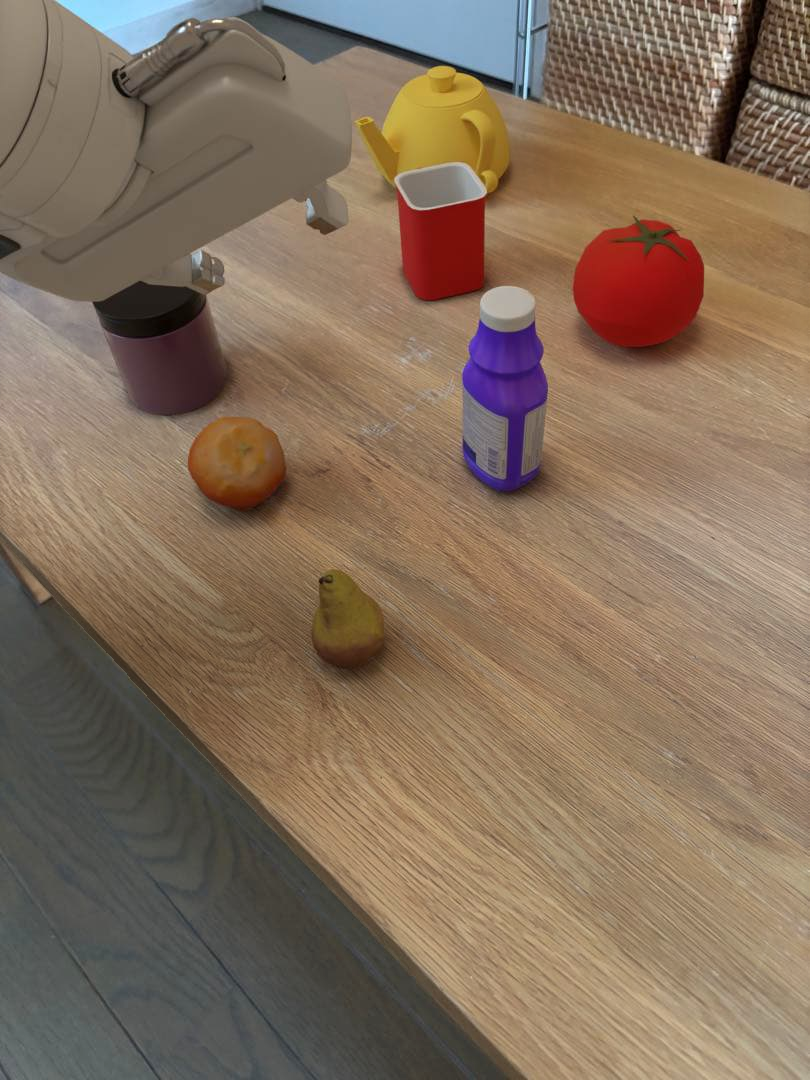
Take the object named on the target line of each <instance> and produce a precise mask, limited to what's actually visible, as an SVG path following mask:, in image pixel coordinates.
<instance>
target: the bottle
mask: <svg viewBox="0 0 810 1080" xmlns="http://www.w3.org/2000/svg"><path fill="white" fill-rule="evenodd" d="M544 348H545V347H544V345H543V342H542V340H541V339H540V338H539V336H538V333H537V329H536V299H535V296H534V295H533V294H532V293H531V292H530V291H528V290H527V289H524V288H522V287H520V286H515V285H500V286H497V287H493V288H491V289H489V290H487V291H486V292H485V293H484V294H483V295H481V299H480V301H479V320H478V327H477V330H476V332H475V335H474V336H473V337H472V339H470V342H469V343H468V354H469V356H470V357H469V358H468V360H467V361H466V363H465V365H464V367H463V370H462V375H461V381H462V383H461V384H462V448H461V449H462V454H463V457H464V460H465V463H466V464H467V466H468V468H469V469H470V471H471V472H472V473H473V474H474V475H475V477H477V479H479V480H480V482H482V483H484V484H485V485H486V486H488V487H490V488H492V489H494V490H495V491H499V492H504V493H505V492H510V491H513V490H517V489H519V488H521V487H522V486H525V485H527V483H530V482H531V481H532V480H533V479H534V478H535V477H536V476H537V475H538V473H539V471H540V470H541V465H542V457H543V448H544V447H543V446H544V438H545V427H546V426H545V425H546V416H547V415H546V413H547V404H548V393H549V385H548V380H547V376H546V373H545V370H544V368H543V365H542V363H541V361H542V359H543V356H544V351H545V350H544Z"/></svg>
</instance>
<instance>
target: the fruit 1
mask: <svg viewBox="0 0 810 1080" xmlns="http://www.w3.org/2000/svg"><path fill="white" fill-rule="evenodd" d="M187 469H188V472H189V474H190V476H191V478H192V480H193V482H194V483H195V484H196V485H197V487H198V489H199V490H200V492H201V493H202V495H204V497H205V498H206V499H208V500H209V501H211V502H213V503H216V504H218V505H220V506H223V507H226V508H230V509H231V510H235V511H239V512H242V511H243V512H245V511H248V510H251V509H254V508H255V507H256V506H258V505H260V503H262V502H263V501H265V500H266V499H267V498H269V497H270V496H271V495H272V494H273V493H274V492H275V491H276V489H278V487H279V486H280V485H281V483H283V481H284V480H285V478H286V474H287V466H286V460H285V453H284V449H283V447H282V445H281V442H280V439H279V437H278V435H277V434H276V433H275V431H274V430H273V429H270V428H268V427H267V426H265V425H264V424H262V423H261V421H259V420H258V419H256V418H252V417H248V416H247V417H239V416H238V417H235V416H221V417H219V418H217V419H215V420H213V421H211V422H210V423H208V424H207V425H206V426H205V427H204V428H203V429H202V430H201V432H200V433H199V434H198V435H197V436H196V438H195V439H194V440H193V442H192V443H191V445H190V448H189V452H188V456H187Z"/></svg>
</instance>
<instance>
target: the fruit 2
mask: <svg viewBox="0 0 810 1080" xmlns="http://www.w3.org/2000/svg"><path fill="white" fill-rule="evenodd" d="M317 581H318V597H319V605H318V607H317V608H316V610H315V612H314V615H313V618H312V624H311V629H310V630H311V632H310V636H311V641H312V645H313V648H314V651H315V653H316V654H317V656H318V657H319V658H320V659H322V660H323V662H325V663H326V664H328V665H330V666H331V667H333V668H337V669H341V670H350V669H354V668H357V667H360V666H362V665H364V664H366V663H368V662H370V661H371V660H373V658H375V657H376V656H377V655H378V654H379V653H380V651H382V648H383V646H384V643H385V619H384V618H385V617H384V613H383V610H382V608H381V606H380V604H379V603H378V602H377V601H376V600H375V599H374V598H373V597H372V596H370V595H369V594H368V593H365V592H364V591H363V590H362V588H361V587H360V586H359V584H357V583H356V582H355V579H353V578H352V577H351V576H350V575H349V574H348V573H346V572H344V571H343V570H340V569H334V568H333V569H328V570H326V571H324V572H323V573H322V574H321V575H320V577H319V578H318V580H317Z"/></svg>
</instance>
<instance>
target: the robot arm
mask: <svg viewBox="0 0 810 1080" xmlns="http://www.w3.org/2000/svg"><path fill="white" fill-rule="evenodd" d="M351 114H352V113H351V108H350V102H349V98H348V95H347V93H346V91H345V89H344V88H343V87H342V86H341V84H339V83H338V82H337V81H336V80H335V79H333V78H332V77H331V76H329V75H328V74H327V73H326V72H324V71H323V70H321V69H320V68H319V67H317V66H316V65H314V64H313V63H312V62H310V61H308V60H307V59H305V58H304V57H302V56H301V55H299V54H298V53H296V52H294V51H293V50H291V49H290V48H288V47H286V46H285V45H283V44H281V43H280V42H278V41H277V40H275V39H273V38H271V37H269V36H267V35H265V34H263V33H262V32H260V31H259V30H257V28H255V27H254V26H253V25H252V24H251V23H249V22H248V21H245V20H243V19H241V18H239V17H236V16H229V17H227V18H211V19H207V20H204V21H200V20H199V19H197V18H196V17H190V18H186V19H185V20H182V21H181V22H179V23H177V24H176V25H174V26H173V27H172V28H171V29H170V30H168V31H167V33H166V35H165V37H164V38H162V39H161V40H160V41H158V42H157V43H155V44H153V45H152V46H150V47H148V48H146V49H144V50H143V51H141V52H139V53H138V54H137V55H136V56H133V54H132V53H131V52H129V50H128V49H126V48H125V47H123V46H122V45H120V44H119V43H117V42H116V41H114V40H113V39H112V38H110V37H109V36H107V35H105V34H104V33H103V32H101V31H100V30H98V29H97V28H96V27H94V26H93V25H91V24H89V22H87V21H85V20H84V19H83V18H81V17H80V16H79V15H77V14H75V13H74V12H73V11H71V10H69V8H67V7H66V6H64V5H62V4H61V3H59V2H58V1H57V0H0V273H1V274H3V275H4V276H6V277H8V278H10V279H13V280H15V281H17V282H20V283H22V284H25V285H26V286H29V287H32V288H35V289H37V290H40V291H43V292H46V293H48V294H51V295H54V296H56V297H61V298H63V299H66V300H69V301H74V302H87V303H88V302H89V303H90V302H91V303H92V302H98V301H103V300H105V299H107V298H109V297H111V296H112V295H114V294H116V293H118V292H120V291H122V290H123V289H125V288H127V287H129V286H131V285H133V284H134V283H136V282H138V281H143V282H145V283H147V284H150V285H164V286H178V287H184V286H186V287H188V288H190V289H192V290H194V291H197V292H199V293H201V294H203V295H208V294H210V293H212V292H213V291H216V290H217V289H219V288H221V287H224V285H225V284H226V283H225V282H226V281H225V279H226V278H225V277H224V273H225V265H224V263H223V262H222V260H221V259H220V258H218V257H216V256H211V254H210V253H209V252H206V251H205V250H203V249H201V248H203V247H205V246H206V245H208V244H210V243H212V242H214V241H216V240H217V239H219V238H222V237H223V236H224V235H227V234H228V233H231V232H232V231H234V230H236V229H238V228H240V227H241V226H243V225H245V224H247V223H249V222H252V220H255V219H256V218H258V217H260V216H262V215H264V214H266V213H267V212H270V211H271V210H273V209H275V208H276V207H278V206H280V205H282V204H284V203H287V202H288V201H290V200H291V199H293V200H294V201H296V202H297V203H304V206H305V207H306V210H305V224H306V225H307V226H308V227H310V228H312V229H313V230H318V231H319V233H320V234H322V235H323V236H326V235H329V234H330V233H332V232H335V231H337V230H339V229H341V228H343V227H346V226H347V225H348V224H349V207H348V201H347V200H346V198H345V196H344V195H343V194H342V193H340V192H339V191H338V190H336V189H334V188H333V187H332V186H331V185H329V184H328V181H327V180H329V179H330V178H332V177H333V176H336V175H338V174H339V173H341V172H343V171H345V170H346V169H347V168H348V167H349V165H350V164H351V159H352V150H353V149H352V148H353V147H352V146H353V129H352V128H353V124H352V115H351ZM199 249H200V250H199ZM195 251H196V252H195Z"/></svg>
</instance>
